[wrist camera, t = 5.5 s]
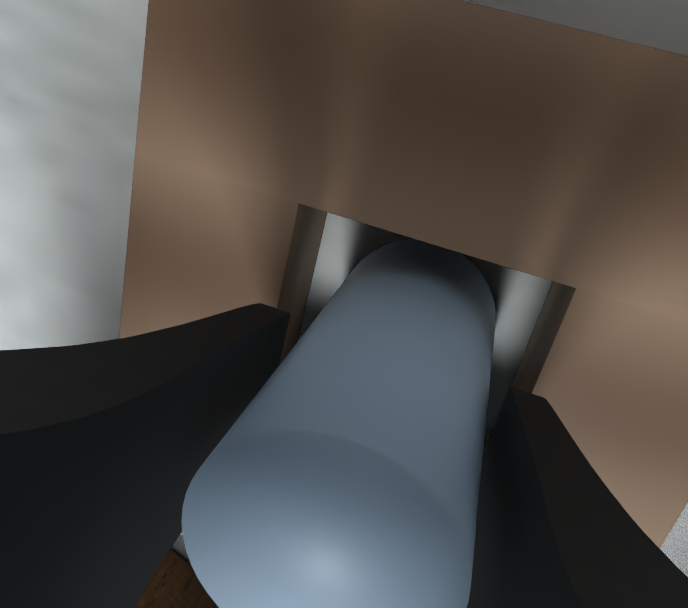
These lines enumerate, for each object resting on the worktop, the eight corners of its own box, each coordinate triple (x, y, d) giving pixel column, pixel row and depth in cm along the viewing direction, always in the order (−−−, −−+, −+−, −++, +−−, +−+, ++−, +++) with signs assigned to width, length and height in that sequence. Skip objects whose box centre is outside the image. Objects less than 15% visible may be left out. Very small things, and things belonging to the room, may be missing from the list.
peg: (467, 400, 15) (419, 711, 8) (328, 353, 16) (166, 605, 8) (518, 266, 14) (516, 499, 6) (362, 218, 14) (201, 386, 7)
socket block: (565, 604, 16) (572, 691, 14) (155, 449, 18) (104, 504, 16) (840, 102, 11) (922, 114, 9) (219, -53, 13) (155, -75, 10)
